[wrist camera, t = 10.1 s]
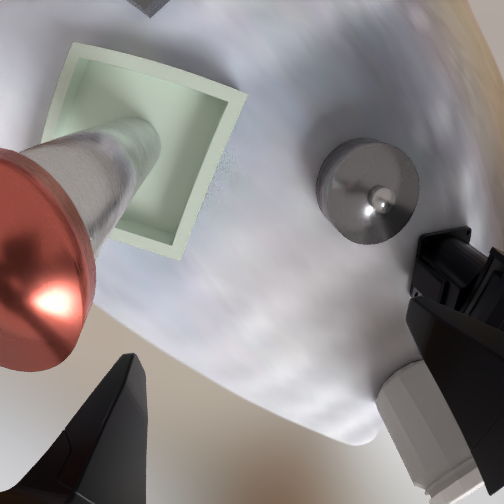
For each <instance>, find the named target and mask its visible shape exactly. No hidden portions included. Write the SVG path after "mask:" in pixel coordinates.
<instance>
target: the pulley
mask: <svg viewBox="0 0 504 504" xmlns="http://www.w3.org/2000/svg"><path fill="white" fill-rule="evenodd" d="M316 193H317V200H318V204H319V206H320V209H321V211H322V212H323V214H324V216H325V217H326V218H327V219H328V220H329V221H330V222H331V223H332V224H333V226H334V227H335V228H336V229H337V230H338V231H339V232H340V233H341V234H342V235H343V236H344V237H346V238H347V239H349V240H351V241H353V242H355V243H358V244H364V245H371V244H377V243H381V242H384V241H386V240H388V239H390V238H392V237H393V236H394V235H396V234H397V233H398V232H399V231H401V230H402V228H403V227H404V226H405V225H406V224H407V222H408V221H409V220H410V218H411V216H412V214H413V212H414V210H415V207H416V204H417V200H418V195H419V181H418V175H417V172H416V169H415V167H414V165H413V163H412V161H411V160H410V158H409V157H408V156H407V155H406V154H405V153H404V152H402V151H401V150H400V149H398V148H396V147H394V146H391V145H388V144H385V143H382V142H379V141H376V140H373V139H367V138H359V139H353V140H349V141H347V142H345V143H343V144H341V145H340V146H338V147H337V148H336V149H334V150H333V151H332V152H331V153H330V154H329V156H328V157H327V158H326V160H325V161H324V163H323V165H322V167H321V169H320V172H319V175H318V178H317V185H316Z"/></svg>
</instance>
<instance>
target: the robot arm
mask: <svg viewBox="0 0 504 504" xmlns="http://www.w3.org/2000/svg"><path fill="white" fill-rule="evenodd" d="M470 237H471V228H469V227H468V226H464V227H459V228H454V229H449V230H444V231H439V232H433V233H428V234H423V235H422V236H421V237H420V238H419V242H418V249H417V256H416V263H415V269H414V275H413V280H412V286H411V291H410V296H411V297H412V298H411V299H410V301H409V305H408V310H407V314H406V322H407V325H408V327H409V329H410V332H411V334H412V336H413V338H414V340H415V343H416V345H417V347H418V349H419V352H420V354H421V356H422V358H423V360H424V362H425V364H426V366H427V367H428V369H429V371H430V373H431V374H432V376H433V378H434V380H435V382H436V384H437V385H438V387H439V389H440V391H441V393H442V395H443V397H444V399H445V400H446V402H447V404H448V406H449V408H450V410H451V412H452V414H453V416H454V418H455V420H456V422H457V424H458V426H459V428H460V430H461V432H462V434H463V436H464V439H465V441H466V443H467V445H468V447H469V449H470V450H471V451H470V452H471V454H472V456H473V458H474V461H475V463H476V465H477V467H478V470H479V472H480V474H481V477H482V479H483V481H484V484H485V486H486V489H487V491H488V493H489V495H490V496H492V495H493V494H495V493H496V492H497V491H499V490H500V489H501V488H503V487H504V252H502V251H500V250H498V249H496V248H494V247H492V248H491V250H490V252H489V253H490V255H489V257H488V258H487V257H486V256H485V255H483V254H482V253H481V252H479V251H478V250H477V249H475V248H474V247H473V246H471V245H470V244H469V242H470ZM424 240H425V241H424ZM423 296H424V297H423ZM147 414H148V412H147V396H146V376H145V371H144V369H143V367H142V365H141V363H140V361H139V359H138V357H137V355H136V354H135V353H128V354H123V355H122V356H121V357H120V358H119V360H118V361H117V362H116V363H115V364H114V366H113V367H112V368H111V369H110V371H109V372H108V373H107V374H106V376H105V377H104V378H103V380H102V381H101V382H100V383H99V385H98V386H97V387H96V388H95V390H94V391H93V392H92V394H91V395H90V396H89V397H88V399H87V400H86V401H85V403H84V404H83V405H82V406H81V408H80V409H79V410H78V412H77V413H76V414H75V416H74V417H73V418H72V419H71V421H70V422H69V423H68V425H67V426H66V427H65V430H63V431H62V433H61V434H60V435H59V437H58V438H57V439H56V441H55V442H54V443H53V444H52V446H51V447H50V448H49V449H48V451H47V452H46V453H45V454H44V455H43V456H42V457H41V458H40V460H39V461H38V462H37V463H36V464H35V465H34V466H33V467H32V468H31V469H30V471H29V472H28V473H27V474H26V475H25V476H24V477H23V478H22V479H21V481H19V482H18V483H17V484H16V485H15V486H14V487H12V488H11V489H9V490H6V491H3V492H0V504H146V450H147V426H148V425H147V424H148V415H147Z"/></svg>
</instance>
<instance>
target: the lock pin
mask: <svg viewBox="0 0 504 504" xmlns="http://www.w3.org/2000/svg"><path fill="white" fill-rule="evenodd" d="M160 153H161V141H160V137H159V134H158V132H157V131H156V129H155V128H154V127H153V126H152V125H151V124H150V123H149V122H147V121H146V120H143V119H141V118H136V117H128V118H123V119H120V120H116V121H112V122H108V123H105V124H101V125H97V126H94V127H91V128H87V129H84V130H81V131H77V132H74V133H71V134H68V135H65V136H62V137H59V138H56V139H53V140H50V141H48V142H45V143H42V144H39V145H37V146H34V147H31V148H29V149H26V150H24V151H21V152H19V153H17V152H15V151H12V150H8V149H3V148H0V366H2V367H5V368H8V369H12V370H17V371H24V372H36V371H43V370H47V369H50V368H52V367H55V366H57V365H58V364H60V363H61V362H63V361H64V360H65V359H66V358H67V357H68V356H69V355H70V354H71V352H72V350H73V349H74V347H75V346H76V343H77V341H78V338H79V336H80V333H81V330H82V328H83V325H84V323H85V320H86V318H87V315H88V313H89V311H90V308H91V306H92V303H93V299H94V295H95V287H96V266H95V260H96V258H97V256H98V255H99V253H100V251H101V249H102V248H103V246H104V244H105V243H106V241H107V239H108V237H109V236H110V234H111V232H112V231H113V229H114V227H115V226H116V224H117V223H118V221H119V219H120V218H121V216H122V214H123V213H124V211H125V210H126V208H127V207H128V205H129V203H130V202H131V200H132V199H133V197H134V196H135V194H136V193H137V191H138V190H139V188H140V187H141V185H142V184H143V182H144V181H145V179H146V178H147V176H148V175H149V173H150V172H151V171H152V169H153V168H154V166H155V165H156V163H157V161H158V159H159V157H160Z"/></svg>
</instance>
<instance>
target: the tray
mask: <svg viewBox="0 0 504 504" xmlns="http://www.w3.org/2000/svg"><path fill="white" fill-rule="evenodd" d="M247 96H248V94H246V93H244V92H241V91H239V90H236V89H234V88H231V87H229V86H226V85H223V84H221V83H218V82H215V81H213V80H210V79H207V78H204V77H202V76H199V75H196V74H193V73H190V72H187V71H184V70H181V69H178V68H175V67H172V66H168V65H165V64H162V63H158V62H155V61H152V60H148V59H145V58H141V57H137V56H134V55H130V54H126V53H122V52H118V51H114V50H109V49H105V48H101V47H96V46H91V45H86V44H81V43H76V42H73V43H72V45H71V48H70V50H69V53H68V55H67V58H66V61H65V63H64V66H63V69H62V72H61V74H60V77H59V80H58V83H57V86H56V89H55V92H54V95H53V99H52V102H51V105H50V109H49V112H48V116H47V120H46V123H45V127H44V131H43V135H42V139H41V144H42V143H45V142H48V141H50V140H53V139H56V138H59V137H62V136H65V135H68V134H71V133H74V132H77V131H81V130H84V129H87V128H91V127H94V126H97V125H101V124H105V123H108V122H112V121H116V120H120V119H123V118H128V117H136V118H141V119H143V120H146V121H147V122H149V123H150V124H151V125H152V126H153V127H154V128H155V129H156V131H157V132H158V134H159V137H160V141H161V153H160V157H159V159H158V161H157V163H156V165H155V166H154V168H153V169H152V171H151V172H150V173H149V175H148V176H147V178H146V179H145V181H144V182H143V184H142V185H141V187H140V188H139V190H138V191H137V193H136V194H135V196H134V197H133V199H132V200H131V202H130V203H129V205H128V207H127V208H126V210H125V211H124V213H123V214H122V216H121V218H120V219H119V221H118V223H117V224H116V226H115V227H114V229H113V231H112V232H111V234H110V236H109V237H108V238H110V239H113V240H116V241H119V242H122V243H125V244H128V245H131V246H135V247H138V248H141V249H144V250H147V251H150V252H153V253H157V254H160V255H163V256H166V257H169V258H173V259H176V260H179V261H181V258H182V256H183V253H184V250H185V247H186V245H187V242H188V239H189V237H190V234H191V231H192V229H193V226H194V223H195V221H196V218H197V215H198V213H199V210H200V208H201V205H202V203H203V200H204V197H205V195H206V192H207V190H208V187H209V185H210V182H211V180H212V178H213V175H214V173H215V170H216V168H217V165H218V163H219V160H220V158H221V156H222V153H223V151H224V149H225V146H226V144H227V142H228V139H229V137H230V135H231V132H232V130H233V128H234V125H235V123H236V121H237V119H238V116H239V114H240V112H241V110H242V107H243V105H244V103H245V101H246V99H247Z"/></svg>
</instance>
